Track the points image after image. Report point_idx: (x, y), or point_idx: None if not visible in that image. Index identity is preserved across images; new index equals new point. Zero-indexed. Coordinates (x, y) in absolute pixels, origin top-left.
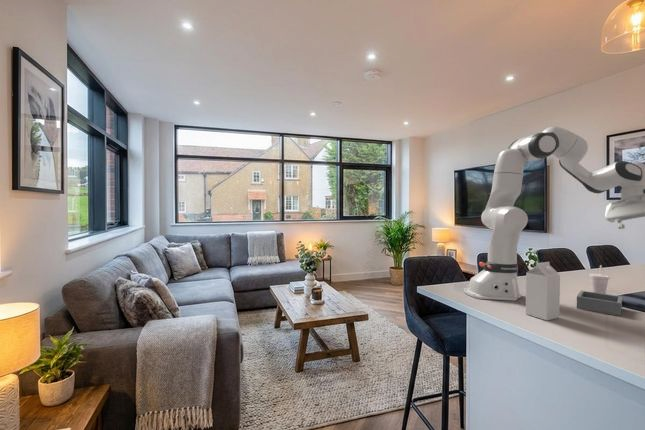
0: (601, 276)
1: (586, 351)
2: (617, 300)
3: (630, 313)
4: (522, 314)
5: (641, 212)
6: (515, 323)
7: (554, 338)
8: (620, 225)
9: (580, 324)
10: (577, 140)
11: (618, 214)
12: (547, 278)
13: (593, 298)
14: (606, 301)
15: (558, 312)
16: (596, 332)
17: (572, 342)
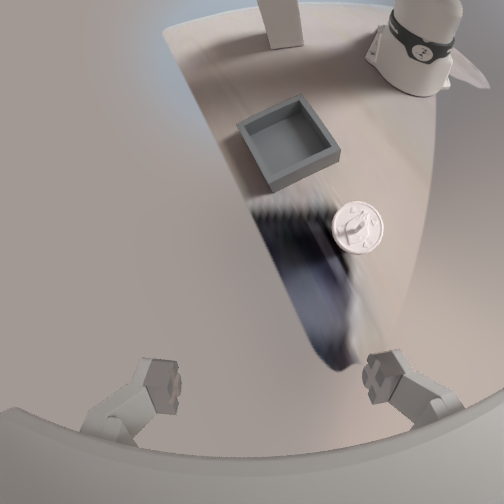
0: (346, 218)
1: (196, 22)
2: (251, 139)
3: (246, 172)
4: None
5: (182, 456)
6: None
7: (226, 15)
8: (386, 360)
9: (242, 55)
10: None
11: (457, 440)
12: None
13: (278, 108)
14: (256, 114)
15: (269, 42)
16: (217, 53)
17: (213, 22)
